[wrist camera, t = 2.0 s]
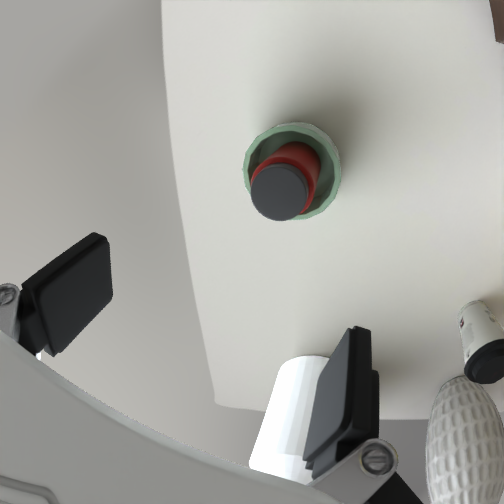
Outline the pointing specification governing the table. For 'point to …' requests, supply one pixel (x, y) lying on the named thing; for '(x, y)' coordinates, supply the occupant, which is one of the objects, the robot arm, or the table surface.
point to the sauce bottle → (286, 181)
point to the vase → (464, 446)
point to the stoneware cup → (314, 138)
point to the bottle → (289, 420)
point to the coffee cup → (481, 343)
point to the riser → (498, 19)
